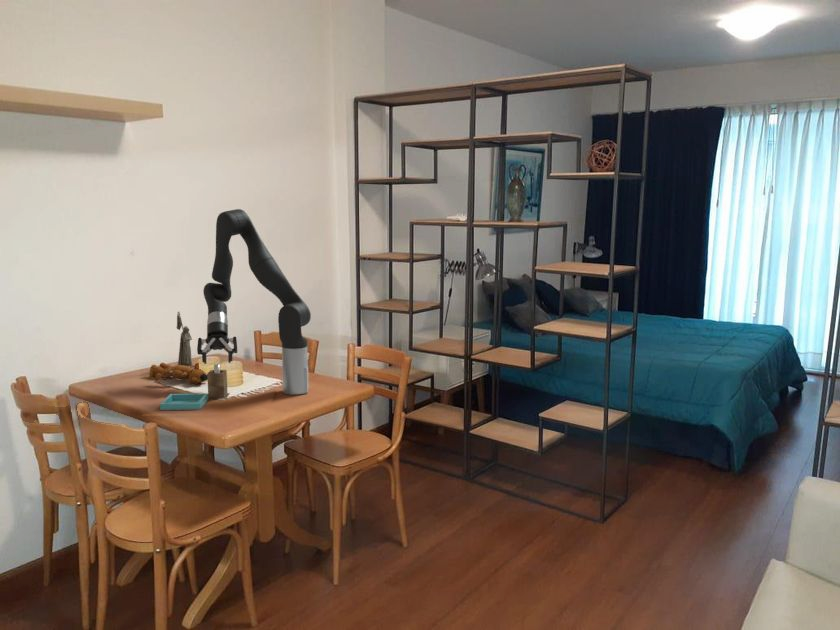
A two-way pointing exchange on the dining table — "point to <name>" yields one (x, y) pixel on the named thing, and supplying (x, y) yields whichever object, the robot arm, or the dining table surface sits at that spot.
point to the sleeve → (217, 384)
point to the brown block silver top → (217, 370)
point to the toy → (179, 372)
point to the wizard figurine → (184, 344)
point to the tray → (184, 402)
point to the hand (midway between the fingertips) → (217, 362)
